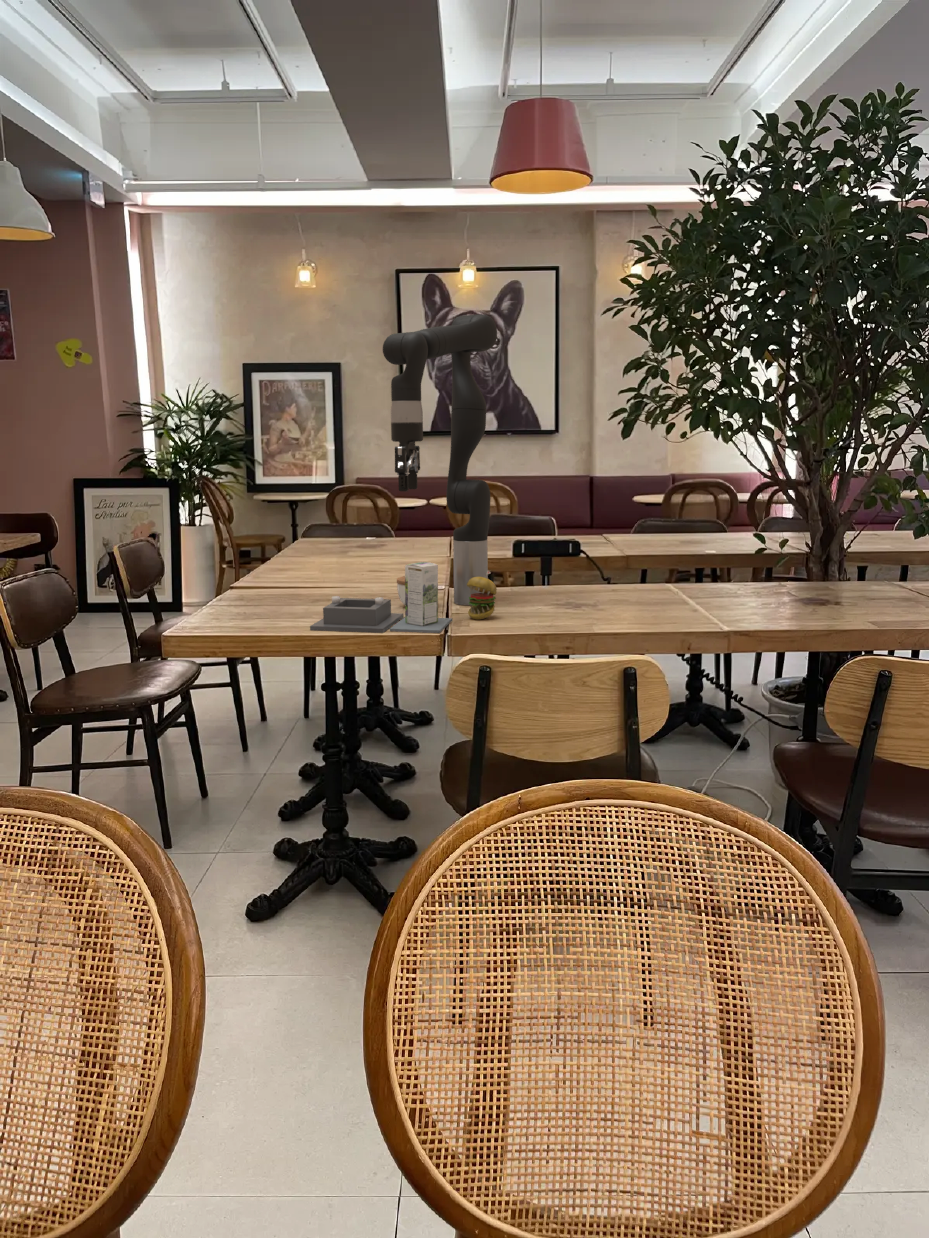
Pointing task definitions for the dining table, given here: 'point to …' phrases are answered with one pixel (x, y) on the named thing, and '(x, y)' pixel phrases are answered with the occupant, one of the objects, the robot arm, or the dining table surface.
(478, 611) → the hamburger
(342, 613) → the holder
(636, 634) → the dining table surface
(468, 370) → the robot arm
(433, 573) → the syrup box
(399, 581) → the lidded jar
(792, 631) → the dining table surface
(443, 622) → the mat
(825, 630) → the dining table surface
